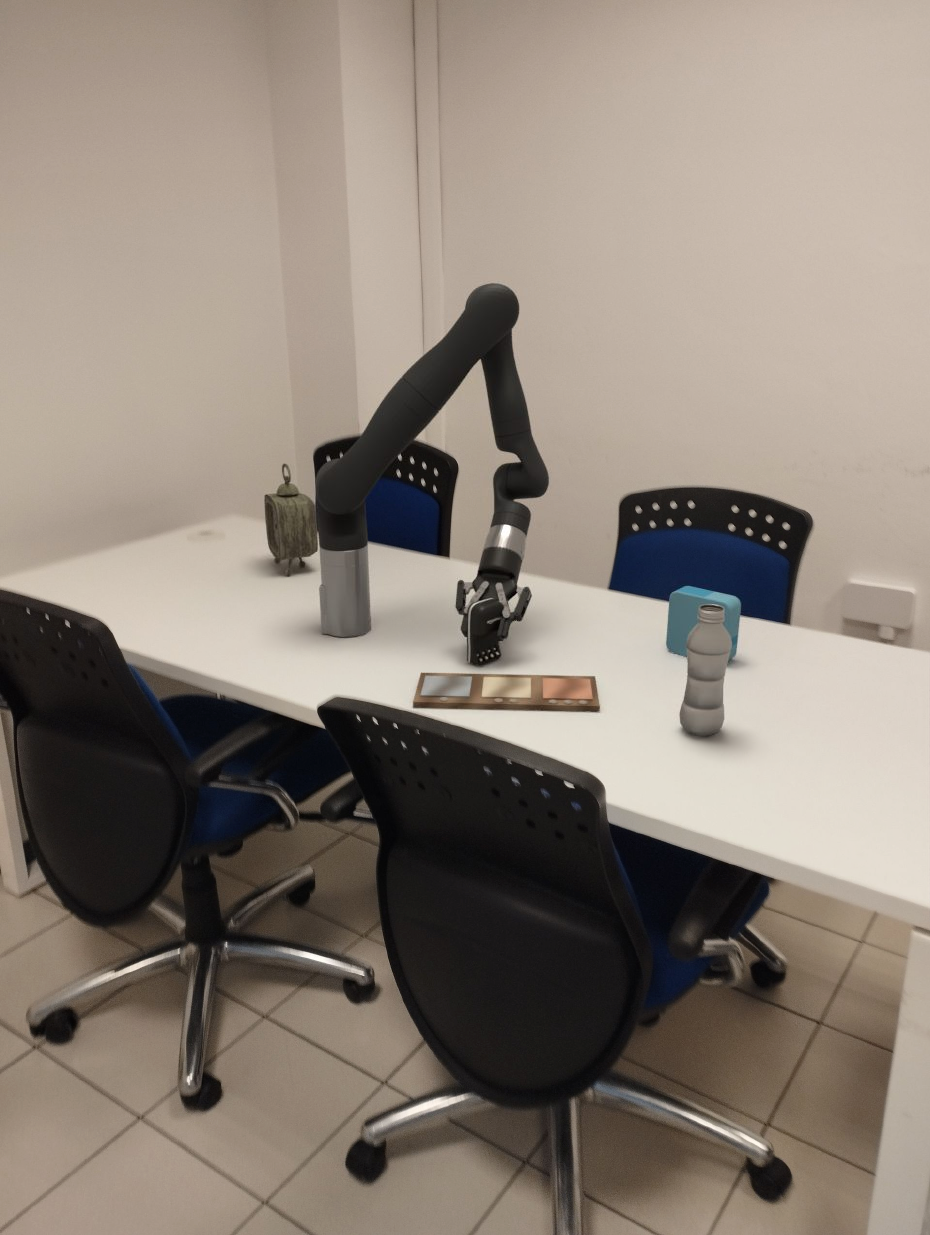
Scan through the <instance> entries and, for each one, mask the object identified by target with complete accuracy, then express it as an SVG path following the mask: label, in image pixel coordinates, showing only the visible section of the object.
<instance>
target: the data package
mask: <svg viewBox="0 0 930 1235" xmlns="http://www.w3.org/2000/svg"><path fill="white" fill-rule="evenodd" d="M668 600H669V601H668V612H667V614H668V615H667V627H666V637H665V638H666V640H665V645H666V648H667V650H668V651H669V652H671V653H673V654H675V655H679V656H683V657H687V637H688V635H689V633H690V632H691V631H692V629H693V628H694V627H695V626H696V625H697V624H698V623H699V620H698V619H697V615H698V610H699V606H701V605H704V604H714V605H719V606H722V607H724V610H725V612H724V617H725V621H724V622H723V623H722V624H723V626H724V627H725V628H726V630H727V631H728V633H729V635H730V636H731V641H732V646H731V650H730V655H729V659H728V661H730V660H731V659H733V658H735V657H736V655H737V652H738V641H739V631H740V621H741V609H742V602H741V600H740V598H738V597H737V596H735V595H731V594H727V593H722V592H718V591H713V590H709V589H704V588H699V587H695V586H691V585H684V586H682V587H681V588H680V587H679V589H676V590H675V591H673V592H671V593H670V595H669V598H668Z"/></svg>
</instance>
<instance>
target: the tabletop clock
mask: <svg viewBox="0 0 930 1235" xmlns="http://www.w3.org/2000/svg"><path fill="white" fill-rule="evenodd" d="M285 469H286V471H287V474H288V475H286V474H285ZM281 472H282V474H281V475H282V478H283V480H284V483H282V484H280V485H278V488H277V490H276V493H267V494H264V501H263V502H264V518H265V519H264V520H265V528H266V538H267V545H268V549H269V552H270V553H271V554H272V556H273V557H274V560H273V561H274V563H275V564H277V565H279V564H280V563H281V562H282V561H285V560H288V564H287V568H286V569H285V570H284V575H285V576H287V577H289V576H291V575H292V572H293V571H292V570H291V566H292V563H294V560H295V559H298V560H299V563H298V566H299V568H305V567H306V564H307V563H306V562H305V561H304V560H303V558H310V557H311V556H313V555H314V554H316V553H317V552H318V551H319V549H318V548H319V535H318V518H317V508H316V505H315V502H314V500H312V499H311V497H310V496H308V495H306V494H305V493H301V492H300V490H299V489H298V487H297V485H295V484H293V483H290V482H291V480H292V479H291V476H292V475H291V474H292V473H291V469H290V466H289V465H288V464H287V463H282V465H281Z"/></svg>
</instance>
